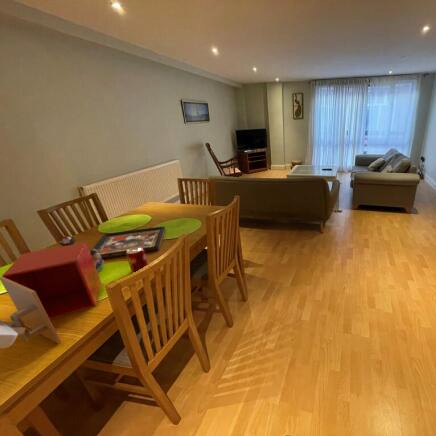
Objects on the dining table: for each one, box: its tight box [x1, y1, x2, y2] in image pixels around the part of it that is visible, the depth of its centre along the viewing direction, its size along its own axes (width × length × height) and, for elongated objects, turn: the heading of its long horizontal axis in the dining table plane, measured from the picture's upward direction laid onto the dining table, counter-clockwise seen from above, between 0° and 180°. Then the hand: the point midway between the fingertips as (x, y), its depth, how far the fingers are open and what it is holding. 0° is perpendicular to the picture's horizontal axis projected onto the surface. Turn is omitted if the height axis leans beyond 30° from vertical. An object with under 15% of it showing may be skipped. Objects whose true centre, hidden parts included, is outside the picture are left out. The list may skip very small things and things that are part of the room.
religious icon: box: [92, 226, 166, 259], centre depth 144 cm, size 38×35×3 cm
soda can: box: [125, 247, 149, 274], centre depth 116 cm, size 7×7×12 cm
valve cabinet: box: [1, 241, 103, 320], centre depth 94 cm, size 16×20×22 cm
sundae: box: [58, 233, 77, 247], centre depth 127 cm, size 7×7×15 cm
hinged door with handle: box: [0, 276, 62, 345], centre depth 77 cm, size 6×20×21 cm, turn 68°
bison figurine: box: [89, 247, 105, 273], centre depth 116 cm, size 12×7×10 cm, turn 14°
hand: (21, 328), depth 73 cm, fingers closed on hinged door with handle, 2 cm apart
